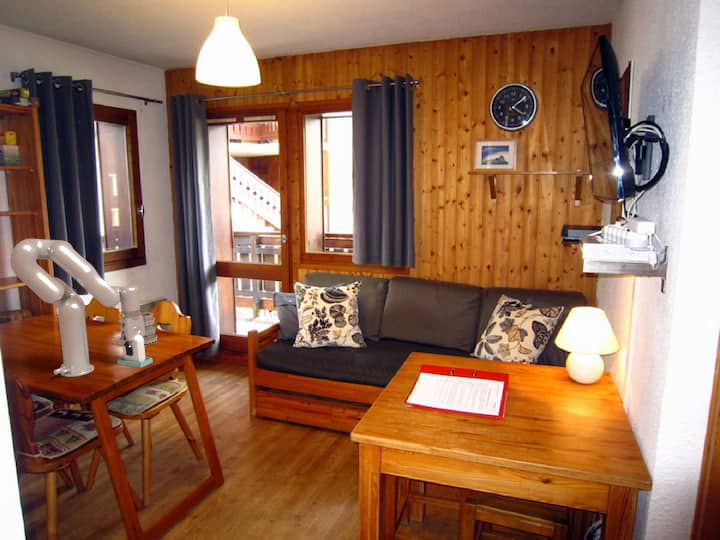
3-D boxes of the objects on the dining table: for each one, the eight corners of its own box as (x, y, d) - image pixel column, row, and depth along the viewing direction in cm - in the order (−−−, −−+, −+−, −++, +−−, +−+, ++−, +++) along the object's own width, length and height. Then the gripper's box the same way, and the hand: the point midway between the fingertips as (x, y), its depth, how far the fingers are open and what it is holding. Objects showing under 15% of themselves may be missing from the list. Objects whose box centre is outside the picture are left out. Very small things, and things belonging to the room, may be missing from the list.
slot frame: (141, 367, 223) (140, 363, 222) (117, 364, 227) (117, 359, 227) (152, 362, 229) (152, 358, 229) (129, 359, 233) (129, 354, 233)
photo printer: (122, 360, 228) (120, 333, 226) (130, 357, 232) (128, 331, 230) (139, 363, 224) (137, 336, 222) (147, 360, 228) (145, 333, 226)
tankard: (145, 336, 268) (143, 308, 266) (162, 339, 262) (160, 311, 260) (111, 347, 251) (109, 317, 249) (128, 350, 245) (126, 320, 243)
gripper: (123, 319, 215) (126, 360, 218) (151, 310, 231) (154, 348, 234) (109, 317, 218) (112, 358, 221) (138, 308, 233) (141, 347, 236)
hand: (134, 353), depth 227 cm, fingers closed on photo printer, 4 cm apart
